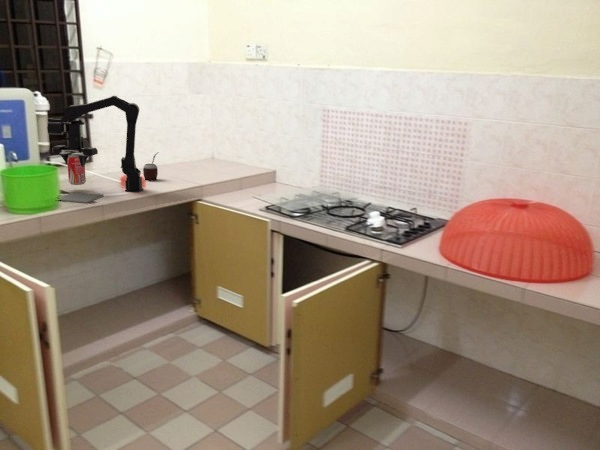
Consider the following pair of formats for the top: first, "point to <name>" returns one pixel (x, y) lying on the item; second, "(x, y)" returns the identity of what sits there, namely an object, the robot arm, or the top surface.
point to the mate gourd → (150, 171)
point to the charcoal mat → (80, 197)
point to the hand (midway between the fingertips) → (76, 169)
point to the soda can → (75, 170)
